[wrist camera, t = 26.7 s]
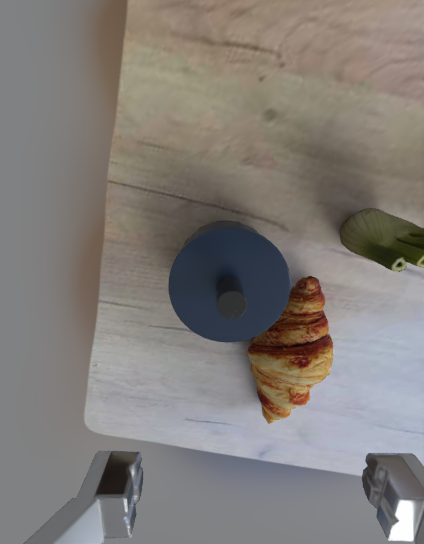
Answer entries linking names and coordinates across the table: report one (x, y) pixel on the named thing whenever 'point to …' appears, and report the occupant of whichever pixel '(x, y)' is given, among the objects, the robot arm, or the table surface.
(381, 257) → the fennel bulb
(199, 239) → the lid
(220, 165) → the table surface
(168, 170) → the table surface
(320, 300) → the croissant
